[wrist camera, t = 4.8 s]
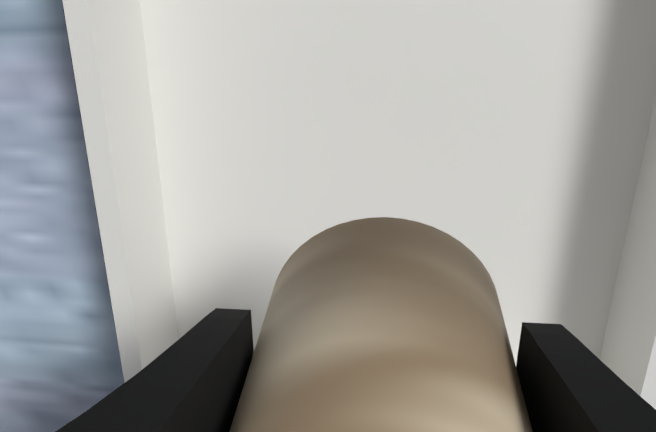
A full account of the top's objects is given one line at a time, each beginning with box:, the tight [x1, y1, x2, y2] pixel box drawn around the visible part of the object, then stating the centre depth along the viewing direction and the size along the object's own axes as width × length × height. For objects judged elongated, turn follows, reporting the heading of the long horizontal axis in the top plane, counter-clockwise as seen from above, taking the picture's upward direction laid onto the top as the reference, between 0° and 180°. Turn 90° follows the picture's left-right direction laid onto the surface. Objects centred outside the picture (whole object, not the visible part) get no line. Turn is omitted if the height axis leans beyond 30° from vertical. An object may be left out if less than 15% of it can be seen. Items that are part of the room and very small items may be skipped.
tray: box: [62, 0, 656, 409], centre depth 16 cm, size 15×17×4 cm
